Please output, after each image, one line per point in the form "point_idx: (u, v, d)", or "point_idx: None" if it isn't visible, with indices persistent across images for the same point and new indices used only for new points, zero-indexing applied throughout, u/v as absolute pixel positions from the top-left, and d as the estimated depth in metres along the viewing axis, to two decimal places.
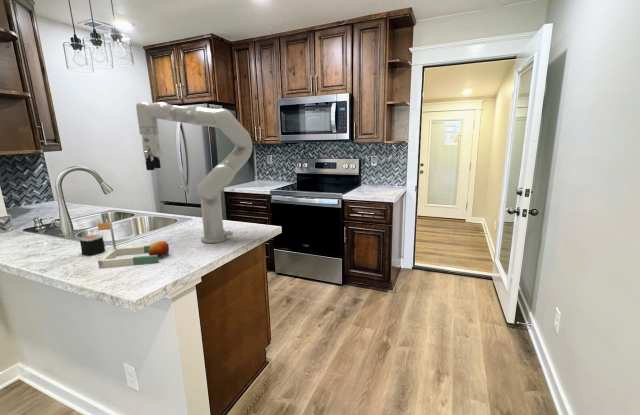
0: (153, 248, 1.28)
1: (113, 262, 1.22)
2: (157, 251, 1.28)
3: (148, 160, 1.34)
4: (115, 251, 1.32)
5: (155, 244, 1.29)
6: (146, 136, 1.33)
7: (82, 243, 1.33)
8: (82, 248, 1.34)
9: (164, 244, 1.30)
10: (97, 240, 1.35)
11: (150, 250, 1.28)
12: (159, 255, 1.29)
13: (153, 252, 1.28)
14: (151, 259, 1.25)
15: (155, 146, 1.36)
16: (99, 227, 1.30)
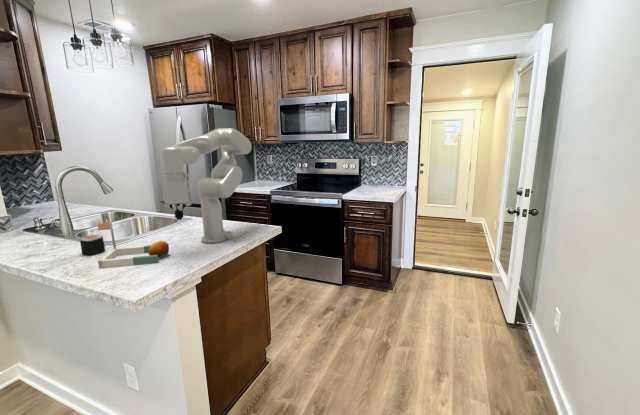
0: (153, 248, 1.28)
1: (113, 262, 1.22)
2: (157, 251, 1.28)
3: None
4: (115, 251, 1.32)
5: (155, 244, 1.29)
6: (187, 182, 1.28)
7: (82, 243, 1.33)
8: (82, 248, 1.34)
9: (164, 244, 1.30)
10: (97, 240, 1.35)
11: (150, 250, 1.28)
12: (159, 255, 1.29)
13: (153, 252, 1.28)
14: (151, 259, 1.25)
15: None
16: (99, 227, 1.30)
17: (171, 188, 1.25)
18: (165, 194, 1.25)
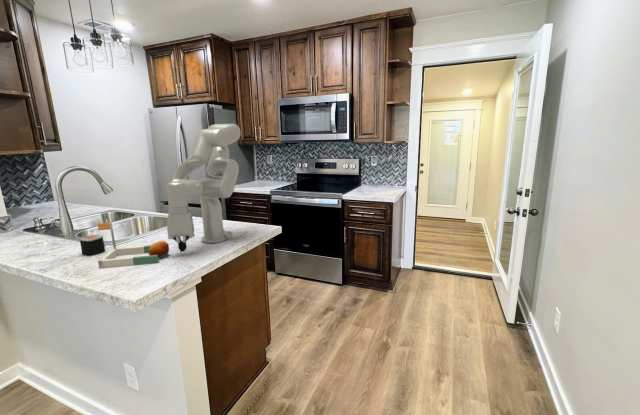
0: (153, 248, 1.28)
1: (113, 262, 1.22)
2: (157, 251, 1.28)
3: (186, 240, 1.33)
4: (115, 251, 1.32)
5: (155, 244, 1.29)
6: (190, 214, 1.31)
7: (82, 243, 1.33)
8: (82, 248, 1.34)
9: (164, 244, 1.30)
10: (97, 240, 1.35)
11: (150, 250, 1.28)
12: (159, 255, 1.29)
13: (153, 252, 1.28)
14: (151, 259, 1.25)
15: None
16: (99, 227, 1.30)
17: (175, 221, 1.28)
18: (169, 228, 1.28)
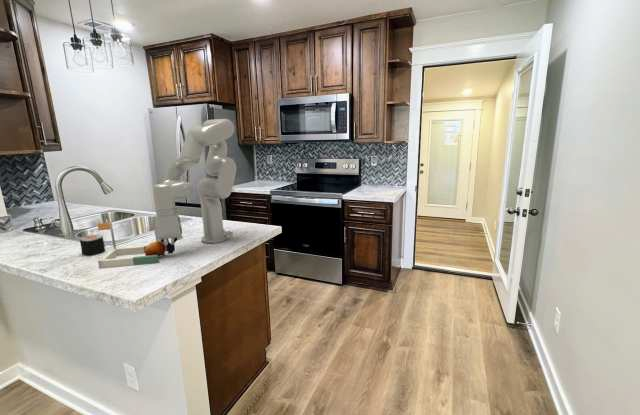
0: (149, 248, 1.27)
1: (113, 262, 1.22)
2: (153, 252, 1.28)
3: (174, 242, 1.32)
4: (115, 251, 1.32)
5: (151, 244, 1.29)
6: (178, 216, 1.31)
7: (82, 243, 1.33)
8: (82, 248, 1.34)
9: (160, 244, 1.30)
10: (97, 240, 1.35)
11: (146, 250, 1.28)
12: None
13: (150, 252, 1.27)
14: (151, 259, 1.25)
15: None
16: (99, 227, 1.30)
17: (162, 223, 1.27)
18: (157, 230, 1.28)
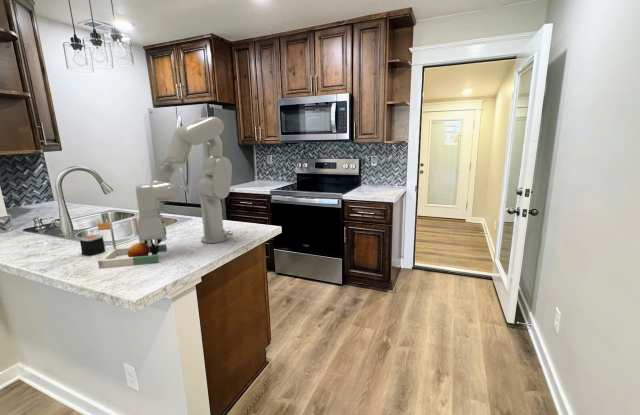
0: (132, 250, 1.26)
1: (113, 262, 1.22)
2: (136, 253, 1.26)
3: None
4: (115, 251, 1.32)
5: (135, 246, 1.27)
6: (162, 217, 1.29)
7: (82, 243, 1.33)
8: (82, 248, 1.34)
9: (144, 245, 1.29)
10: (97, 240, 1.35)
11: (129, 252, 1.26)
12: None
13: (133, 254, 1.26)
14: (151, 259, 1.25)
15: None
16: (99, 227, 1.30)
17: (145, 225, 1.26)
18: (140, 231, 1.26)
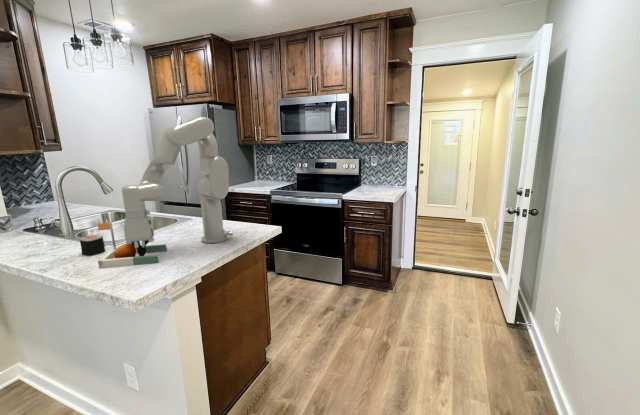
0: (119, 251, 1.25)
1: (113, 262, 1.22)
2: (123, 254, 1.25)
3: (145, 245, 1.30)
4: None
5: (121, 247, 1.26)
6: (149, 218, 1.28)
7: (82, 243, 1.33)
8: (82, 248, 1.34)
9: (131, 246, 1.28)
10: (97, 240, 1.35)
11: (116, 253, 1.25)
12: None
13: (120, 255, 1.25)
14: (151, 259, 1.25)
15: None
16: (99, 227, 1.30)
17: (132, 226, 1.25)
18: (127, 232, 1.25)
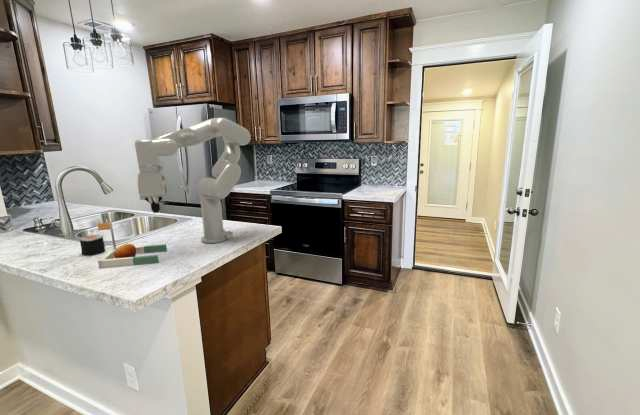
0: (119, 251, 1.25)
1: (113, 262, 1.22)
2: (123, 254, 1.25)
3: (159, 201, 1.29)
4: None
5: (121, 247, 1.26)
6: (162, 174, 1.27)
7: (82, 243, 1.33)
8: (82, 248, 1.34)
9: (131, 247, 1.28)
10: (97, 240, 1.35)
11: (116, 253, 1.25)
12: None
13: (120, 255, 1.25)
14: (151, 259, 1.25)
15: None
16: (99, 227, 1.30)
17: (145, 180, 1.24)
18: (140, 187, 1.24)
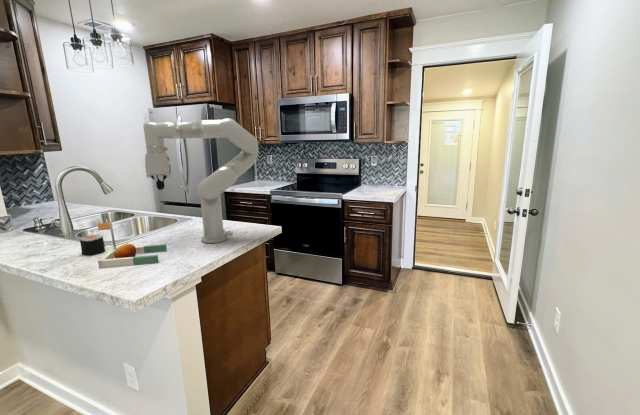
0: (119, 251, 1.25)
1: (113, 262, 1.22)
2: (123, 254, 1.25)
3: None
4: None
5: (121, 247, 1.26)
6: (167, 155, 1.41)
7: (82, 243, 1.33)
8: (82, 248, 1.34)
9: (131, 247, 1.28)
10: (97, 240, 1.35)
11: (116, 253, 1.25)
12: None
13: (120, 255, 1.25)
14: (151, 259, 1.25)
15: None
16: (99, 227, 1.30)
17: (152, 160, 1.37)
18: (147, 166, 1.38)
